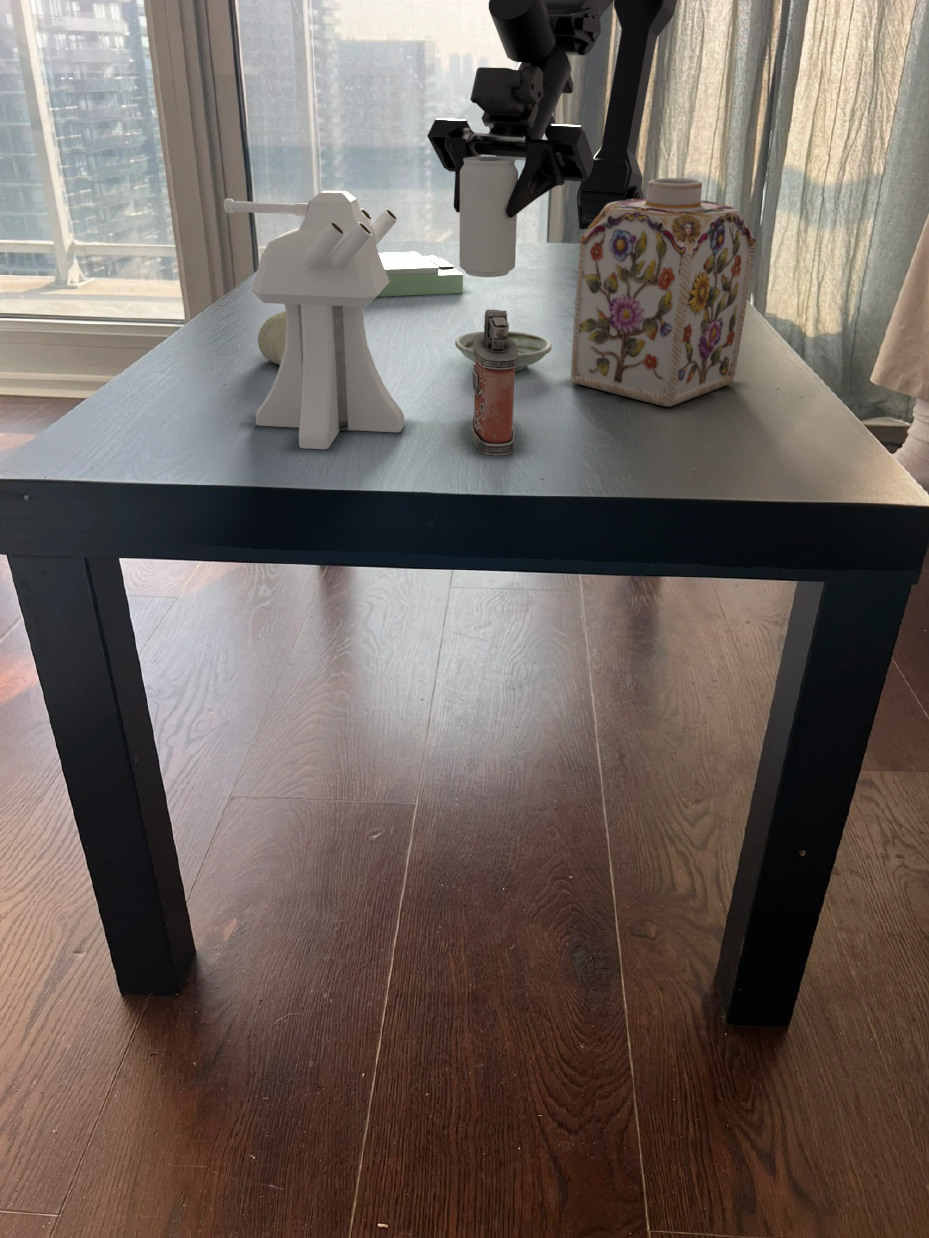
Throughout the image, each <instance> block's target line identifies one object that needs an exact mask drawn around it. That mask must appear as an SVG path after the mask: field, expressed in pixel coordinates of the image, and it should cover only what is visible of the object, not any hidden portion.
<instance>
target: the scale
mask: <svg viewBox="0 0 929 1238" xmlns="http://www.w3.org/2000/svg"><path fill="white" fill-rule="evenodd" d="M378 253H379V255H380V258H381V260H382V263H383V266H384V268H385V271H386V273H387V276H388V278H389V281H390V282H389V283H388V284H387V285H386V286H385V288H384V289H383V290H382V291H381V292H380V293H379V294H378V296H377V297H376V298H382V297H383V298H384V297H401V296H403V297H405V296H406V297H407V296H422V295H423V296H424V295H425V296H427V295H447V294H449V295H450V294H463V293H464V273H462V272H460V271H458V269H455V266H454V265H453V264H451V263H449V262H448V261H446V260H444V259H443V258H438V257H437V256H435V255H428V256H427V255H423V256H422V255H421V254H420V253H418V252H417V251H406V252H405V251H403V252H378Z"/></svg>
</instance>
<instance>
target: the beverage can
mask: <svg viewBox="0 0 929 1238" xmlns="http://www.w3.org/2000/svg"><path fill="white" fill-rule="evenodd" d="M463 161H464V165H463V167H462V168H461V170H460V213H459V252H458V253H459V255H458V256H459V259H458V260H459V262H458V263H459V268H460V269H461V270H463V271H464V272H465V273H466V275H469V276H470V277H471V276H472V277H477V278H498V277H503V276H507V275H509V273H510V272H511V271H513V269H515V268H516V255H517V254H516V253H517V252H516V251H517V250H516V249H517V223H518V222H517V219H518V214H516V215H515V216H514V217H512V218H509V217H508V216H507V214H506V209H507V206H508V203H509V200H510V197H511V195H512V193H513V190H514V188H515V186H516V184H517V181H518V179H519V170H518V169H517V167H516V165H515V163H516V160H515V159H514V158H509V157H496V156H493V155H481V156H478V157H467V158H464V159H463Z"/></svg>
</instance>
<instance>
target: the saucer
mask: <svg viewBox="0 0 929 1238" xmlns="http://www.w3.org/2000/svg"><path fill="white" fill-rule="evenodd" d="M478 334H484V330H483V331H475V332H470V333H466V334H463V335H460V336H458V337H457V338H456V339H455V341H454V344H455V347H456V348H457V350H459V351H460V352H461V354H462V355H463V356H464V357H465V358H467V359H468V360H470V362H471V361H472V362H473V363H475V357H474V356H473V340H474V337H475V336H476V335H478ZM508 337H509V338H510V339H511V340H513V341H514V343H515V344H516V345H517V348H518V362H517V366H516V367H515V372H518V371H519V372H520V371H522V370H525V369H527V368H528V366H531V365H533V364H535V363H538V362H539V361H540V360H542V359H543V358H544V357H545V356H547V354H549V353H550V352H551V351H552V347H553V345H552V343H551V342H550V341H549V340H548V339H547V338H545V337H543V336H539V335H536V334H533V333H528V332H521V331H511V330H509V333H508Z"/></svg>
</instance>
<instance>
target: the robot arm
mask: <svg viewBox="0 0 929 1238" xmlns="http://www.w3.org/2000/svg"><path fill="white" fill-rule="evenodd" d="M612 3H613V8H614V11H615V14H616V17H617V20H618V23H619V26H620V37H619V41H618V48H617V53H616V59H615V65H614V71H613V76H612V81H611V88H610V94H609V100H608V105H607V111H606V117H605V122H604V127H603V128H604V129H603V133H602V139H601V144H600V148H599V150H598V151H597V152H596V154H594V155H593V152H592V148H591V146H590V142H589V140H588V137H587V134H586V131H585V129H584V128H583V126H582V125H576V124H575V125H574V124H558V123H556V120H555V118H554V115H553V114H554V113H555V110H556V108H557V105H558V104H559V100H560V98H561V96H562V94H569V95H570V94H573V92H574V80H573V77H572V75H571V73H572V65H571V62H570V60H569V56H581V57H585V56H587V55H588V54H589V53H590V52H591V51H592V50H593V48H594V45H595V44H596V42H597V41H598V38H599V37H600V35H601V34H602V26H601V17H602V16H603V14H604V13H605V12H606V10H607V9H608V8H609V7H610V6H611V4H612ZM677 3H678V0H488V11H489V14H490V16H491V19H492V22H493V24H494V27H495V29H496V32H497V34H498V37H499V39H500V42H501V45H502V47H503V50H504V53H505V55H506V58H507V59H509V60H511V61H512V62H514V63H518V66H517V67H516V69H514V68H510V67H492V66H491V67H489V66H488V67H487V66H486V67H485V66H481V67H477V68H476V71H475V76H474V81H473V85H472V89H471V93H470V99H469V100H470V102H472V104H476V105H477V106H478V107H479V108H480V109H481V110H482V111H483V113H482V115H481V121H482V123H483V125H484V127H487V128H488V129H489V131H488V133H487V132H486V133H485V132H474V131H473V129H472V128H471V126H470V125H469V121H468V119H457V118H456V119H455V118H435V119H434V121H433V122H432V123H431V124H432V125H431V126H430V129H429V131H428V133H427V135H426V137H427V139H428V140H429V142H430V144H431V146H432V148H433V150H434V152H435V154H436V156H437V157H438V160H439V161H440V163H441V165H442V167H443V169H445V170H447V171H448V172H451V173H452V172H453V173H454V189H453V190H454V191H453V209H454V211H455V212H456V213H457V214H460V170H461V168H462V167H463V165H464V161H463V159H464V158H467V157H478V156H496V157H509V158H514V159H515V161H524V166H523V168H522V170H521V172H520V174H519V176H518V181H517V184H516V186H515V188H514V190H513V193H512V195H511V197H510V200H509V203H508V206H507V209H506V214H507V216H508V217H509V218H512V217H514V216H515V215H516V214H517V215H518V214H519V213H520V212H521V211H523V210H524V209H525V208H527V207H528V206H529V205H530V204H532V203H533V202H535V201H536V200H537V199H539V198H540V197H542V196H544V194H546V193H548V192H549V191H551V190H552V189H554V188H556V187H557V186H561V187H562V186H564V185H565V183H566V181H567V182H579V183H580V185H579V186H578V190H577V194H576V204H577V205H576V206H577V217H578V218H577V219H578V228H579V230H587V228H588V227H589V225H590V224H591V223H592V222H593V221H594V219H595V218H596V217H597V216H598V214H599V213H600V212H601V211H602V209H603V208H604V207H605V206H606V205H607V204H608V203H611V202H616V201H625V200H627V199H630V200H631V199H639V198H645V196H644V193H643V189H642V187H643V179H644V177H643V174H642V172H641V168H640V165H639V161H638V160H637V156H636V153H637V149H638V148H637V147H638V143H639V137H640V132H641V127H642V121H643V115H644V110H645V106H646V105H645V104H646V99H647V95H648V94H647V93H648V87H649V83H650V76H651V72H652V66H653V60H654V55H655V50H656V45H657V40H658V37H659V36H660V35H661V33H662V32H663V31H664V30H665V28H666V27H667V25H668V24H669V22H670V21H671V20H672V19H673V17H674V15H675V12H676V7H677ZM544 136H545V138H546V139H543V138H544Z"/></svg>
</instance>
